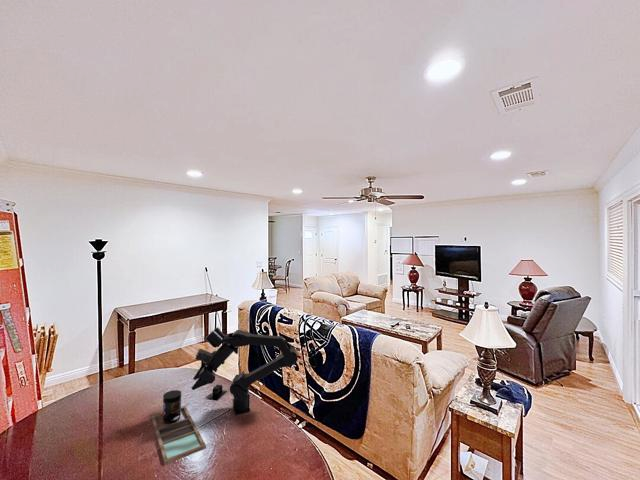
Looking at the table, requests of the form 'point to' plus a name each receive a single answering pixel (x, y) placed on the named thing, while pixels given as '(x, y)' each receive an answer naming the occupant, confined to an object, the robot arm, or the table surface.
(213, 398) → the black box
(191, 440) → the compartment sorting tray
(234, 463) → the table surface
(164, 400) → the supplement container
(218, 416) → the table surface
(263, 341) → the robot arm
